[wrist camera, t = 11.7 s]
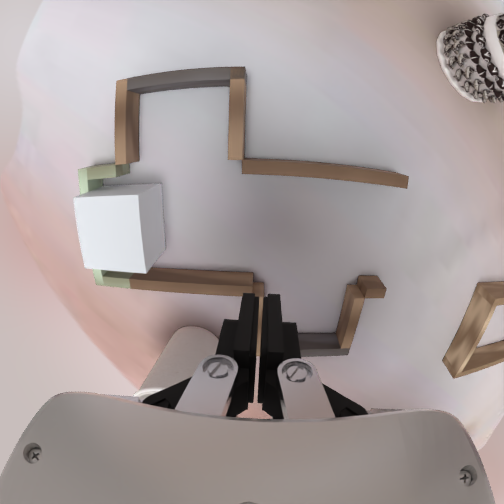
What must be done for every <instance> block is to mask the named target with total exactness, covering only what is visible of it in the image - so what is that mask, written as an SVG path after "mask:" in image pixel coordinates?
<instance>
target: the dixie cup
mask: <svg viewBox="0 0 504 504" xmlns="http://www.w3.org/2000/svg"><path fill="white" fill-rule="evenodd" d="M218 341H219V340H218V338H217V337H216V336H215V335H214V334H213V333H211V332H210V331H208V330H206V329H204V328H201V327H196V326H186V327H182V328H180V329H178V330H177V331H176V332H175V333H174V334H173V336H172V337H171V339H170V340H169V342H168V343H167V345H166V347H165V348H164V350H163V352H162V353H161V355H160V357H159V358H158V360H157V361H156V363H155V365H154V366H153V368H152V369H151V371H150V373H149V374H148V376H147V378H146V379H145V381H144V382H143V384H142V386H141V387H140V389H139V390H138V391H137V392H135V393H134V395H133V396H135V397H139V398H140V399H145V398H146V397H148V396H150V395H152V394H154V393H157V392H159V391H161V390H163V389H166V388H168V387H170V386H173V385H175V384H177V383H179V382H181V381H183V380H186V379H188V378H190V377H192V376H193V374H194V372H195V371H196V369H197V367H198V365H199V363H200V362H201V361H202V360H203V359H204V358H206V357H208V356H211V355H215V354H216V349H217V345H218Z"/></svg>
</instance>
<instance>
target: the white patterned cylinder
mask: <svg viewBox="0 0 504 504" xmlns="http://www.w3.org/2000/svg"><path fill="white" fill-rule="evenodd" d="M436 48H437V56H438V59H439V62H440V65H441V68H442V70H443V72H444V74H445V75H446V77H447V79H448V81H449V82H450V84H451V85H452V86H453V87H454V88H455V90H456V91H457V92H458V93H459V94H460V95H461V96H463V97H464V98H466V99H468V100H469V101H471V102H483V103H485V102H486V99H489V101H490V102H493V103H495V102H496V99H497V98H498V100H499V101H500V102H503V101H504V14H503V13H499V14H496V15H493V16H489V15H487V14H483V15H482V17H481V16H477V18H476V17H475V18H473V19H472V20H467V21H463V22H461V23H460V24H456V25H454V26H453V27H450V28H447V30H445V31H443V32H441V33H440V34H439V36H438V38H437V41H436Z"/></svg>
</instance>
